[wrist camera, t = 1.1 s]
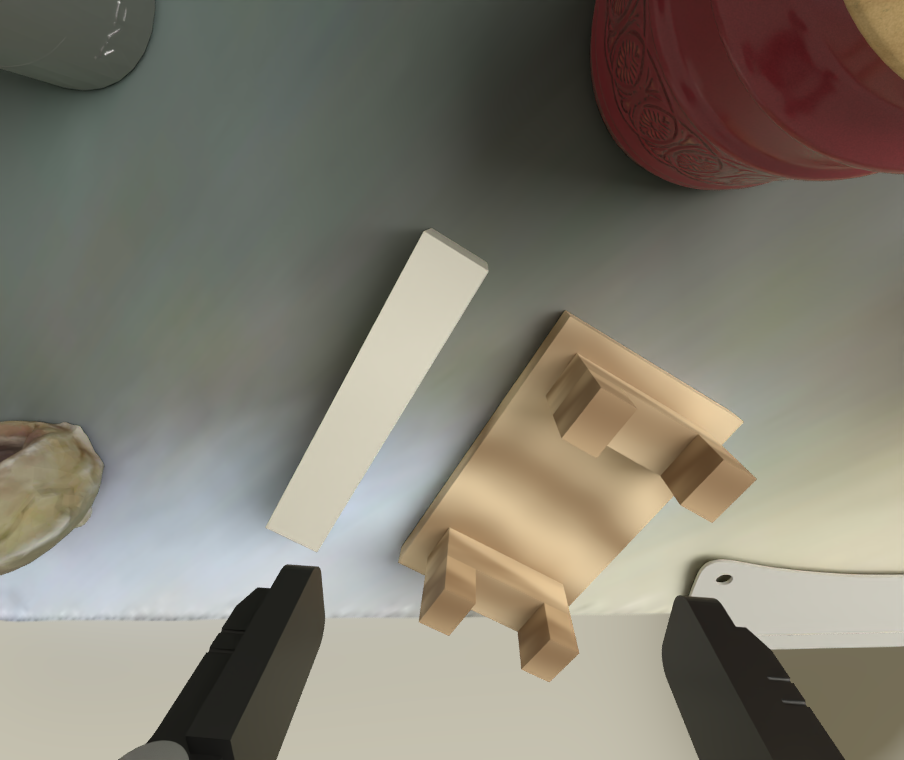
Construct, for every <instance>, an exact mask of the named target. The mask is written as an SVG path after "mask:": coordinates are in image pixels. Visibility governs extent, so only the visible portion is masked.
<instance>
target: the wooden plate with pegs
mask: <svg viewBox="0 0 904 760" xmlns="http://www.w3.org/2000/svg"><path fill="white" fill-rule="evenodd" d="M742 423H743V421H742V420H741V419H740V418H738V417H737V416H736V415H735V414H733V413H732V412H731V411H729V410H728V409H726V408H725V407H723V406H721V405H720V404H718V403H716V402H715V401H713V400H711V399H710V398H708V397H707V396H705V395H703V394H702V393H700V392H698V391H697V390H695V389H693V388H692V387H690V386H689V385H687V384H685V383H684V382H682V381H680V380H679V379H677V378H675V377H674V376H672V375H671V374H669V373H667V372H666V371H664V370H662V369H661V368H659V367H657V366H656V365H654V364H653V363H651V362H649V361H648V360H646V359H644V358H643V357H641V356H639V355H638V354H636V353H634V352H633V351H631V350H630V349H628V348H626V347H625V346H623V345H621V344H620V343H618V342H616V341H615V340H613V339H612V338H610V337H608V336H607V335H605V334H603V333H602V332H600V331H598V330H597V329H595V328H594V327H592V326H590V325H589V324H587V323H585V322H584V321H582V320H580V319H579V318H577V317H576V316H574V315H572V314H571V313H569V312H567V311H566V310H565V311H564V312H563V314H562V315H561V317H560V318H559V320H558V321H557V323H556V324H555V325H554V327H553V328H552V330H551V331H550V333H549V334H548V336H547V337H546V339H545V340H544V341H543V343H542V344H541V346H540V347H539V349H538V350H537V352H536V353H535V354H534V356H533V357H532V359H531V360H530V362H529V363H528V365H527V366H526V367H525V369H524V370H523V372H522V373H521V375H520V376H519V378H518V379H517V380H516V382H515V383H514V385H513V386H512V388H511V389H510V391H509V392H508V394H507V395H506V396H505V398H504V399H503V401H502V402H501V404H500V405H499V407H498V408H497V409H496V411H495V412H494V414H493V415H492V417H491V418H490V420H489V421H488V422H487V424H486V425H485V427H484V428H483V430H482V431H481V433H480V434H479V436H478V437H477V438H476V440H475V441H474V443H473V444H472V446H471V447H470V449H469V450H468V451H467V453H466V454H465V456H464V457H463V459H462V460H461V462H460V463H459V464H458V466H457V467H456V469H455V470H454V472H453V473H452V475H451V476H450V477H449V479H448V480H447V482H446V483H445V485H444V486H443V488H442V489H441V491H440V492H439V493H438V495H437V496H436V498H435V499H434V501H433V502H432V504H431V505H430V506H429V508H428V509H427V511H426V512H425V514H424V515H423V517H422V518H421V519H420V521H419V522H418V524H417V525H416V527H415V528H414V530H413V531H412V533H411V534H410V535H409V537H408V538H407V540H406V541H405V543H404V544H403V546H402V547H401V552H400V556H399V561H398V563H400V564H402V565H404V566H406V567H408V568H410V569H412V570H415V571H417V572H419V573H421V574H423V575H425V581H424V588H423V595H422V602H421V610H420V617H419V622H420V623H422V624H424V625H427V626H429V627H431V628H433V629H435V630H437V631H439V632H442V633H444V634H446V635H448V636H449V635H450V634H451V633H452V632H453V630H454V629H455V628H456V627H457V626H458V624H459V623H460V622H461V621H462V620H463V618H464V617H465V616H466V615H467V614H468V612H469V611H470V610H473V611H475V612H477V613H479V614H481V615H484V616H486V617H488V618H490V619H492V620H494V621H496V622H498V623H500V624H503V625H505V626H507V627H509V628H511V629H513V630H515V631H517V632H518V639H519V649H520V659H521V669H522V670H524V671H526V672H528V673H530V674H533V675H535V676H537V677H539V678H541V679H543V680H546V681H548V682H550V681H551V680H552V679H553V678H554V677H555V676H556V675H557V674H558V673H559V672H560V671H561V670H562V669H563V668H565V666H567V665H568V664H569V663H570V662H571V660H573V659H574V658H575V657H576V656H577V655H578V654H579V650H578V646H577V642H576V637H575V633H574V629H573V624H572V620H571V616H570V612H569V606H570V605H571V603H572V602H573V601H574V600H575V599H576V598H577V597H578V596H579V595H580V594H581V593H582V592H583V591H584V590H585V589H586V588H587V587H588V586H589V585H590V583H591V582H592V581H593V580H594V579H595V578H596V577H597V576H598V575H599V574H600V573H601V572H602V571H603V570H604V569H605V568H606V567H607V566H608V565H609V563H610V562H611V561H612V560H613V559H614V558H615V557H616V556H617V555H618V554H619V553H620V552H621V551H622V550H623V549H624V548H625V547H626V546H627V544H628V543H629V542H630V541H631V540H632V539H633V538H634V537H635V536H636V535H637V534H638V533H639V532H640V531H641V530H642V529H643V528H644V527H645V526H646V524H647V523H648V522H649V521H650V520H651V519H652V518H653V517H654V516H655V515H656V514H657V513H658V512H659V511H660V510H661V509H662V508H663V507H664V506H665V504H666V503H667V502H668V501H669V500H670V499H671V498H672V497H673V496H674V497H675V498H676V499H677V501H678V502H679V504H680V505H681V506H683V507H685V508H687V509H688V510H690V511H692V512H694V513H696V514H697V515H699V516H701V517H703V518H705V519H706V520H708V521H710V522H712V523H713V522H714V521H715V520H716V519H717V518H718V517H719V516H720V515H721V514H722V513H723V512H724V511H725V510H726V509H727V508H728V507H729V506H730V505H731V504H732V503H733V502H734V501H735V500H736V499H737V498H738V497H739V496H740V495H741V494H742V493H743V492H744V491H745V490H746V489H747V488H748V487H749V486H750V485H751V484H752V483H753V482H754V481H756V480H757V479H756V478H755V477H754V476H753V475H752V474H751V473H750V472H749V471H748V470H747V469H746V468H745V467H744V466H743V465H742V464H741V463H739V462H738V461H737V460H736V459H735V458H734V457H733V456H732V455H731V454H730V453H729V452H728V451H727V450H726V449H725V448H724V447H723V446H722V444H723V443H724V442H725V441H726V440H727V439H728V438H729V437H730V436H731V435H732V434H733V433H734V432H735V431H736V430H737V429H738V428H739V426H740V425H741V424H742Z"/></svg>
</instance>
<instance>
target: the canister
mask: <svg viewBox="0 0 904 760" xmlns="http://www.w3.org/2000/svg"><path fill="white" fill-rule="evenodd" d="M590 69H591V79H592V85H593V90H594V95H595V99H596V102H597V105H598V108H599V111H600V114H601V116H602V119H603V121H604V123H605V125H606V127H607V129H608V131H609V132H610V134H611V136H612V137H613V139H614V140H615V142H616V143H617V144H618V146H619V147H620V148H621V149H622V150H623V151H624V152H625V154H626V155H627V156H628V157H630V158H631V159H632V160H633V161H634V162H635V163H637V164H638V165H639V166H640V167H642V168H644V169H645V170H647V171H648V172H650V173H652V174H654V175H656V176H658V177H660V178H662V179H664V180H666V181H668V182H671V183H674V184H677V185H680V186H684V187H688V188H693V189H701V190H730V189H741V188H748V187H753V186H758V185H762V184H765V183H769V182H772V181H781V180H791V179H794V180H803V181H833V180H844V179H851V178H858V177H863V176H867V175H872V174H876V173H890V174H904V0H596V1H595V7H594V13H593V20H592V29H591V40H590Z"/></svg>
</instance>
